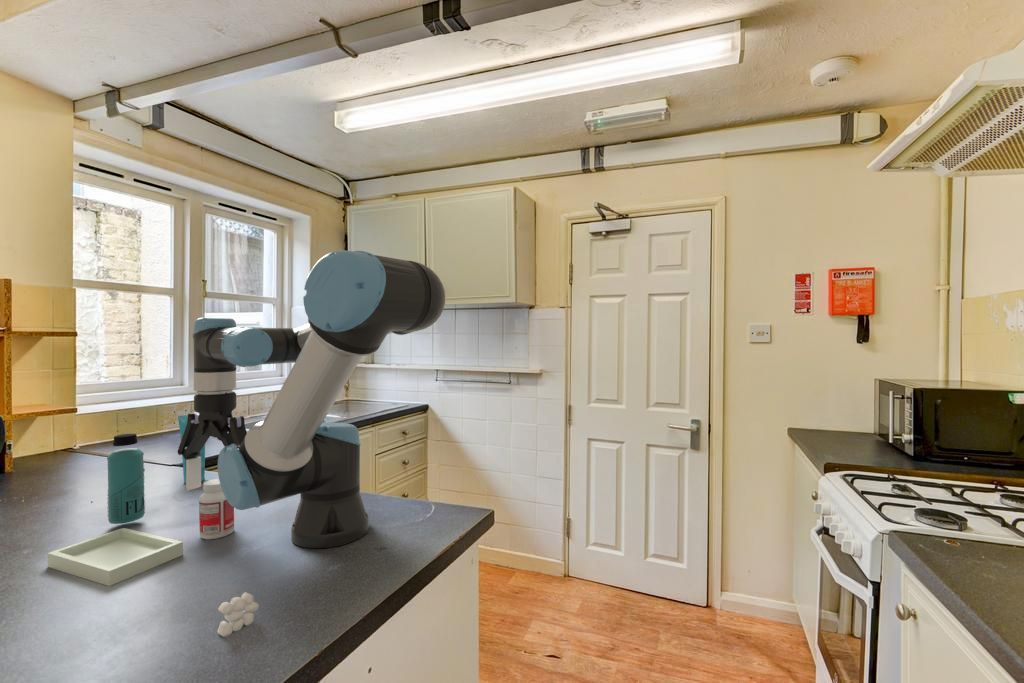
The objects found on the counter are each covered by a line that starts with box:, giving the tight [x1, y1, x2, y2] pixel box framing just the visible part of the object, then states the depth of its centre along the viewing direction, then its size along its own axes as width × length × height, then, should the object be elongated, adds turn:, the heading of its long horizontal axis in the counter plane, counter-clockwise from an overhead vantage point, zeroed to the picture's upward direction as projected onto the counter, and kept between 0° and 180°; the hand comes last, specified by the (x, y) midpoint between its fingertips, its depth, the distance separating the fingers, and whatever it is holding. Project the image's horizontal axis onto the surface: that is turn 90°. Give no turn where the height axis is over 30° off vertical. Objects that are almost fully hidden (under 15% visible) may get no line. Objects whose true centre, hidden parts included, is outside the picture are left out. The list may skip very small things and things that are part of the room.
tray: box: [47, 527, 184, 587], centre depth 87 cm, size 18×12×2 cm, turn 68°
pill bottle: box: [198, 478, 235, 540], centre depth 99 cm, size 6×6×11 cm
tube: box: [177, 414, 206, 484], centre depth 135 cm, size 7×5×19 cm, turn 152°
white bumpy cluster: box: [216, 591, 260, 638], centre depth 67 cm, size 5×1×4 cm, turn 148°
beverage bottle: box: [106, 433, 146, 525], centre depth 103 cm, size 6×7×20 cm
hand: (215, 492), depth 99 cm, fingers open, 13 cm apart
